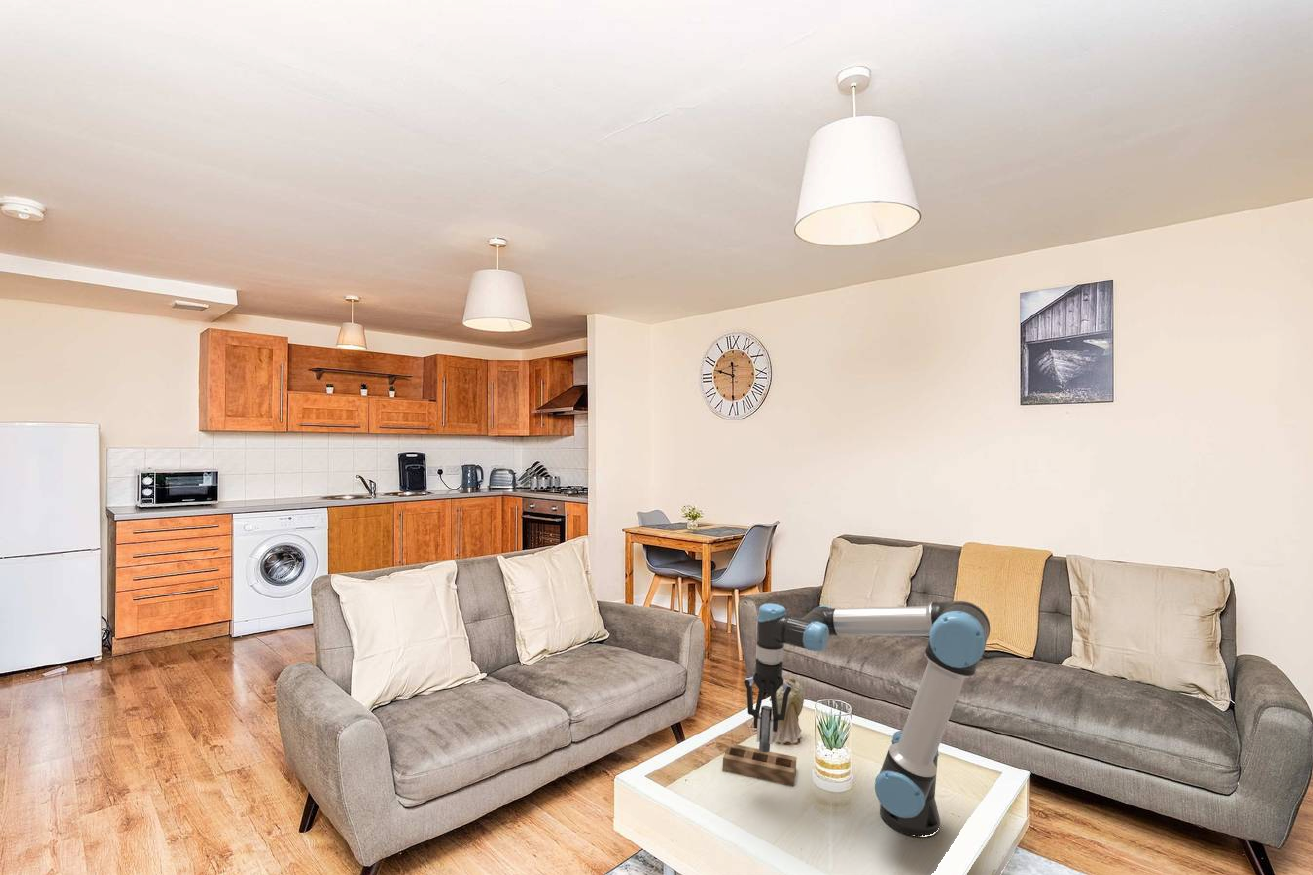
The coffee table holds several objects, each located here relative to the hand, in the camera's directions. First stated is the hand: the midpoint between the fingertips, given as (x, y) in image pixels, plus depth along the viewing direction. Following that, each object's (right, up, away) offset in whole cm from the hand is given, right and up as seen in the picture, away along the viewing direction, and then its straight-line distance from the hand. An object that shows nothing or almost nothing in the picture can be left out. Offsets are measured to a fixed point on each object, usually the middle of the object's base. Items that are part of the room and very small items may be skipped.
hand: (764, 740), depth 183 cm
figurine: (+12, -14, +33) cm, 38 cm away
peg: (0, -3, 0) cm, 3 cm away
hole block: (0, -15, +12) cm, 19 cm away
